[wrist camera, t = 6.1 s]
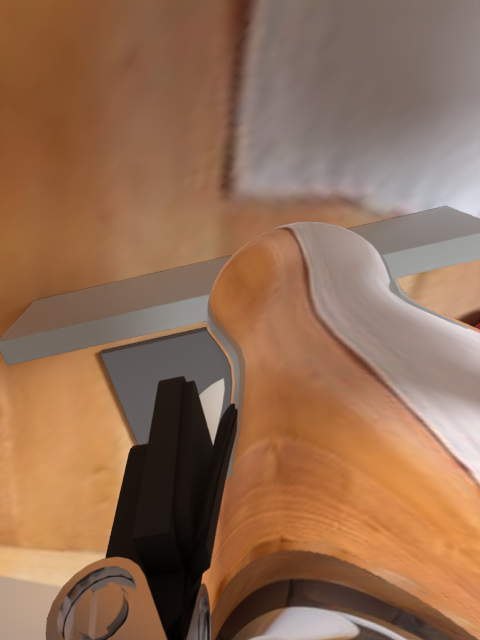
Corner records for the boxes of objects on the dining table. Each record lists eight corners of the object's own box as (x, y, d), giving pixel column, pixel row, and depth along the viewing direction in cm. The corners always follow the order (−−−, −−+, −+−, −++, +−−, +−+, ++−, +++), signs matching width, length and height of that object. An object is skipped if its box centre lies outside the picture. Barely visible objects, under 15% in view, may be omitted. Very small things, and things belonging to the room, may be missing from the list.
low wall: (446, 205, 28) (503, 227, 23) (446, 228, 29) (501, 254, 23) (34, 300, 29) (-5, 342, 24) (44, 319, 30) (7, 365, 24)
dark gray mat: (348, 295, 30) (351, 298, 30) (368, 477, 38) (371, 483, 38) (102, 350, 31) (100, 355, 30) (172, 519, 39) (171, 526, 38)
